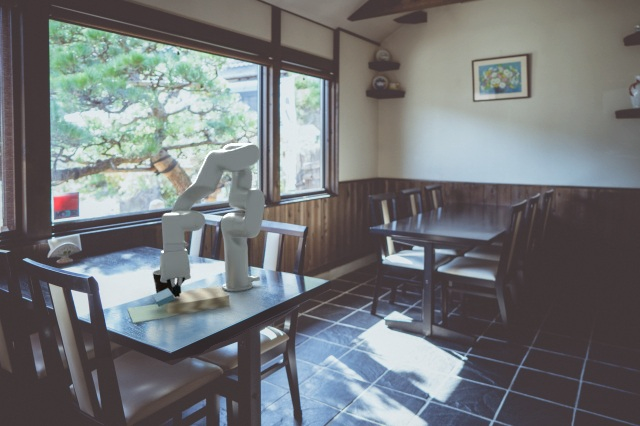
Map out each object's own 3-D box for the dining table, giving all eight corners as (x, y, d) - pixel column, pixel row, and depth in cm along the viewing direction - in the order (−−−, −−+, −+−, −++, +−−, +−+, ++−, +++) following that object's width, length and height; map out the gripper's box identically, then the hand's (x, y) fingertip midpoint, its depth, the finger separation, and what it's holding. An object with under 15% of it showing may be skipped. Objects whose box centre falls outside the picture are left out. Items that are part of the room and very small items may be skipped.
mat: (161, 304, 185) (161, 303, 185) (169, 317, 171) (169, 316, 170) (127, 309, 179) (127, 308, 179) (133, 323, 165) (133, 322, 165)
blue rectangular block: (170, 292, 182) (168, 288, 182) (175, 299, 175) (173, 294, 174) (154, 299, 180) (152, 295, 179) (158, 306, 172) (156, 302, 172)
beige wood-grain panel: (218, 295, 194) (218, 286, 193) (229, 305, 182) (229, 295, 181) (161, 304, 184) (161, 294, 183) (168, 316, 171) (168, 305, 171)
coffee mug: (173, 299, 190) (171, 274, 189) (151, 299, 190) (149, 274, 189) (181, 290, 202) (180, 266, 200) (160, 290, 202) (159, 267, 200)
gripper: (192, 243, 183) (194, 290, 186) (150, 247, 176) (153, 296, 179) (197, 246, 176) (199, 295, 179) (154, 251, 169) (157, 302, 172)
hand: (176, 295), depth 179 cm, fingers closed
